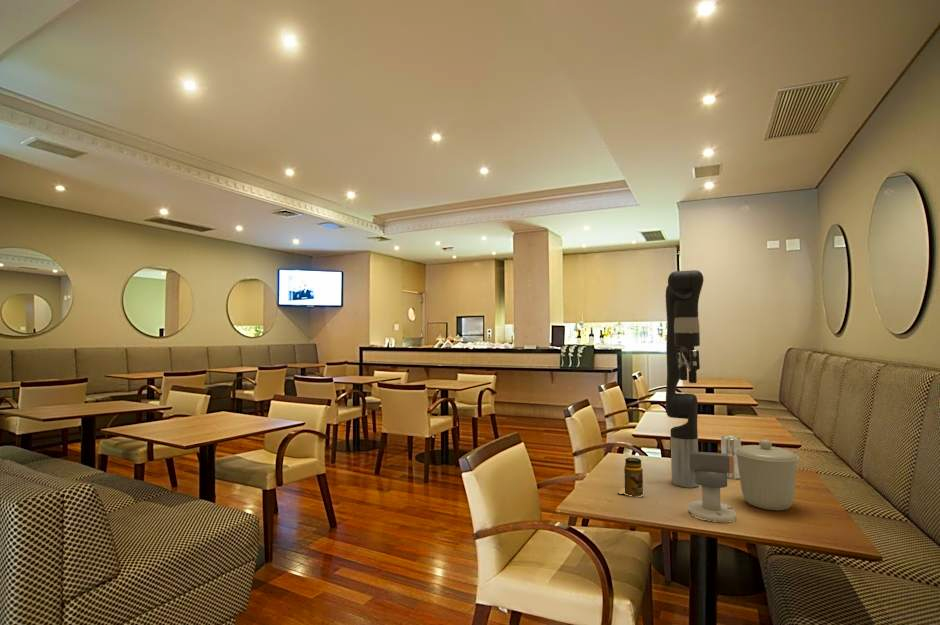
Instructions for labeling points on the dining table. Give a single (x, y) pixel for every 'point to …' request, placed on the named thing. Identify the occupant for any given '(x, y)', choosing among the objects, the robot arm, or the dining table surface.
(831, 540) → the dining table surface
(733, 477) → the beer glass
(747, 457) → the canister
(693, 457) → the twist cap
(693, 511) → the post base
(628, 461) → the condiment
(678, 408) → the robot arm
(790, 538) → the dining table surface
